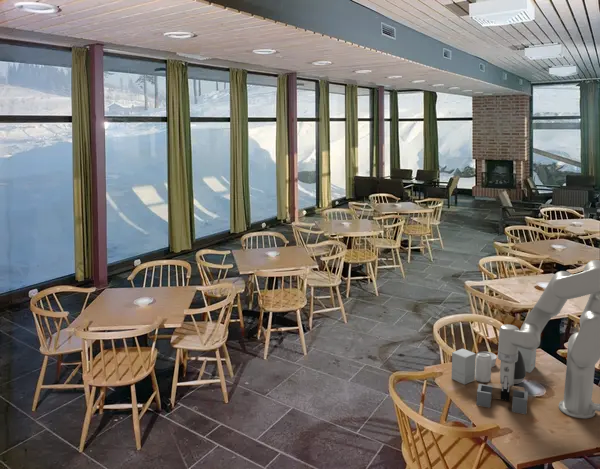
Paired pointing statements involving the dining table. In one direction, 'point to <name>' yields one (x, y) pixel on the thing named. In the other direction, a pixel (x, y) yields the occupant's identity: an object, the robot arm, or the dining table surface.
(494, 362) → the ramekin
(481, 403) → the endcaps
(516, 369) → the dark grey egg shape
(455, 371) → the supplement box
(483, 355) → the can
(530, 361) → the small box
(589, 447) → the dining table surface
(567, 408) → the robot arm
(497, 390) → the slat
